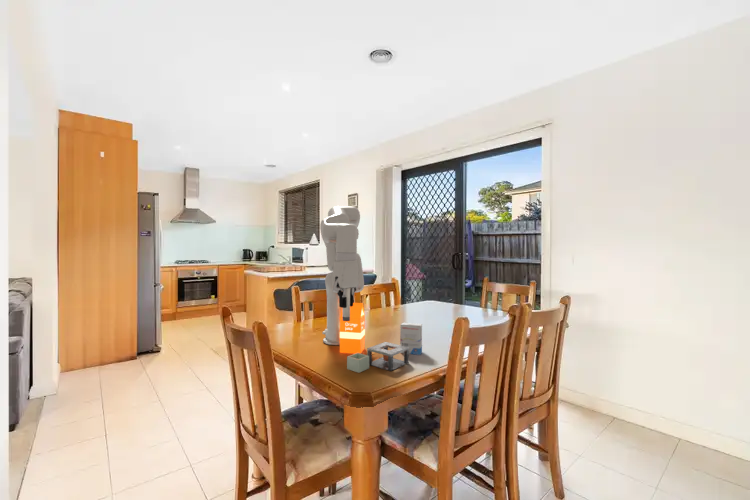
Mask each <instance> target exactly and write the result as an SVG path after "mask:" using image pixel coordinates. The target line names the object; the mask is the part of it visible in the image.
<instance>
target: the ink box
mask: <svg viewBox="0 0 750 500" xmlns="http://www.w3.org/2000/svg"><path fill="white" fill-rule="evenodd" d="M399 327H400V329H399V330H400V333H399V334H400V335H399V339H400V341H399V342H400V343H399V345H401V346H406V347H409V355H418V356H421V355H422V353H423V323H413V322H402V323H400V326H399ZM400 354H404V352H401V353H400Z"/></svg>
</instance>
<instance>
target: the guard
mask: <svg viewBox="0 0 750 500" xmlns="http://www.w3.org/2000/svg"><path fill="white" fill-rule="evenodd" d="M366 351H367V352H366V353H367V354H366V355H368V356H369V366H371V367H375V368H379V369H381V370H385V371H389V372H392V371H395V370H397V369H399V368H401V367H403V366H406V365H408V364H409V361H410V359H409V356H410V354H409V347H406V346H401V345H400V344H396V343H392V342H388V341H384V342H382V343H377V344H375V345H372V346H370V347H367V348H366ZM401 352H404V353H403V360H401V359H398V358H394V356H396V355H398V354H402V353H401ZM373 353H376V354H380V355H387V356H388V361H385V360H383V356H382V357H379V358H377V359H375V360H373Z"/></svg>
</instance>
